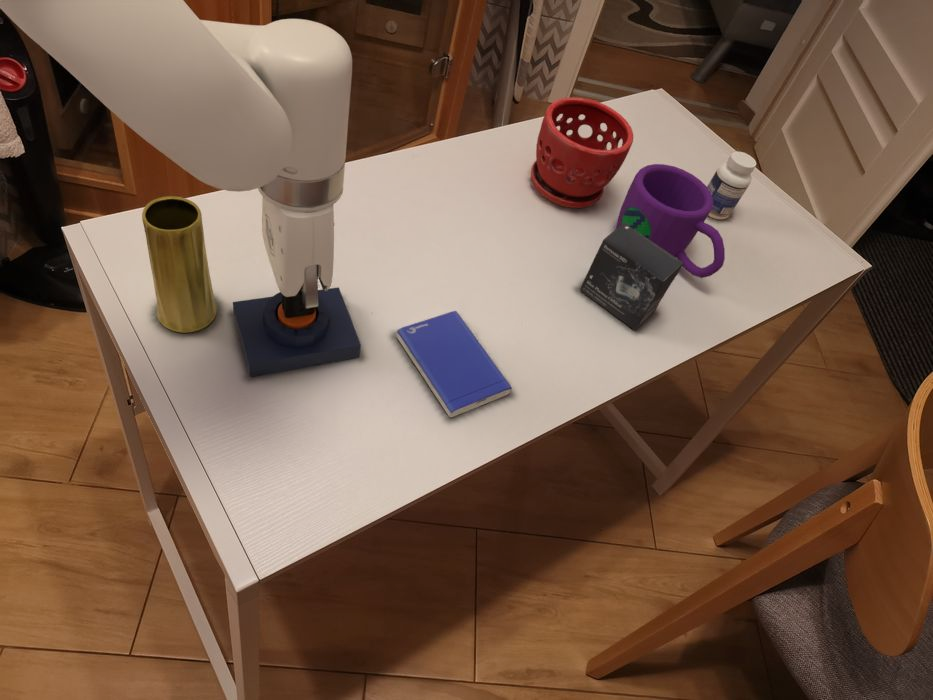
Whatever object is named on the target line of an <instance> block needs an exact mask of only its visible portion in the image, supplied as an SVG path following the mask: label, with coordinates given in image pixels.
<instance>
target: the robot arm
mask: <svg viewBox="0 0 933 700" xmlns="http://www.w3.org/2000/svg"><path fill="white" fill-rule="evenodd" d="M0 10H1V11H2V12H3V13H4V14H5V15H6V16H7V17H8V18H9V19H10V20H11V22H13V23H14V24H15V25H16V26H17V27H18V28H19V29H20V30H21V31H22V32H24V33H25V34H26V35H27V37H29V38H30V39H31V40H32V41H34V43H36V44H37V45H39V46H40V47H41V48H42V50H44V51H45V52H46V53H47V54H49V55H50V56H51V57H52V58H53V59H54V60H55V61H56V62H58V63H59V65H60V66H62V67H63V68H64V69H65V70H66V71H67V72H69V74H70V75H72V76H73V77H74V78H75V79H76V80H77V81H78V82H79V83H80V84H81V85H83V86H84V87H85V88H86V90H88V91H89V92H90V93H91V94H92V95H93V96H94V97H95V98H96V99H97V100H98V101H100V103H102V104H103V105H104V106H105V107H106V108H107V109H108V110H110V112H112V113H113V114H114V115H115V116H116V117H117V118H118V119H119V120H121V121H122V122H123V123H124V124H125V125H126V126H127V127H128V128H130V129H131V130H132V131H133V132H134V133H136V134H137V135H138V136H140V137H141V138H142V139H143V140H144V141H146V142H147V143H148V144H150V145H151V146H152V147H153V148H155V149H156V150H157V151H158V152H160V153H161V154H163V155H164V156H165V157H166V158H168V159H169V160H171V161H172V162H173V163H175V164H176V165H178V166H179V167H180V168H181V169H183V170H184V171H185V172H187V173H188V174H190V175H191V176H192V177H194V178H195V179H197V180H198V181H200V182H201V183H203V184H205V185H208V186H210V187H212V188H215V189H218V190H222V191H226V192H237V193H239V192H248V191H249V192H250V191H253V190H258V192H259V194H260V195H261V196H262V199H261V200H262V202H261V204H262V206H261V208H262V209H261V233H262V240H263V244H264V247H265V251H266V255H267V257H268V261H269V264H270V267H271V270H272V273H273V277H274V278H275V279H274V280H275V283H276V285H277V288H278V290H279V292H281V293H282V308H283V310H284V314H285V317H286V318H292V317H300V316H305V315H312V314H314V313H315V307H318V290H319V284H318V283H320V286H321V290H323V289H324V290H325V291H327V290H328V289H330V288H331V286H332V283H333V274H334V261H335V260H334V258H335V257H334V255H335V212H334V205H335V204H336V203H337V202H338V201H339V200H340V199H341V197H342V195H343V193H344V184H345V171H346V170H345V169H346V157H347V145H348V144H347V143H348V132H349V131H348V130H349V128H348V127H349V117H350V106H351V105H350V104H351V90H352V80H353V79H352V78H353V55H352V52H351V49H350V46H349V44H348V43H347V41H346V39H345V38H344V37H343V36H342V35H341V34H339V33H338V32H337V31H336V30H334V29H333V28H331V27H329V26H328V25H325V24H323V23H321V22H317V21H314V20H309V19H303V18H286V19H285V18H283V19H279V20H274V21H271V22H270V23H267V24H265V25H264V24H263V25H260V24H259V25H258V24H257V25H256V24H245V23H232V22H222V21H216V20H215V21H214V20H208V19H207V20H205V19H200V18H199V17H198V16H197V15H196V14H195V13H194V11H193V9H191V8H190V6H188V4H187V3H186V2H185V0H0ZM318 280H319V281H318Z"/></svg>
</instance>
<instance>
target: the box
mask: <svg viewBox="0 0 933 700" xmlns="http://www.w3.org/2000/svg"><path fill="white" fill-rule="evenodd" d="M683 264H684V263H683V262H682V261H680V260H679V259H677V258H675V257H673V256H672V255H671V254H669V253H668V252H666V251H665V250H663V249H662V248H660V247H659V246H657V245H656V244H655V243H653V242H651V241H650V240H649V239H647V238H646V237H644V236H643V235H641V234H640V233H638V232H637V231H635V230H634V229H632V228H631V227H630V226H629V225H628V224H626V223H623V224H622V225H620V226H619V227H618V228H617V229H616V228H615V229H614V230H613V231H612V232H611V233H609V234H608V235H606V237H605V238H604V239H603V240H602V241H601V244H600V246H599V247H598V250H597V253H595V256H594V258H593V260H592V262H591V265H590V267H589V269H588V271H587V273H586V275H585V277H584V279H583V281H582V284H581V286H580V287H579V291H580V292H582V293H583V294H585V295H586V296H587V297H589V298H590V299H592V300H593V302H596V304H598V305H600V306H601V307H603V308H604V309H605V310H606V311H608V312H609V313H610V314H612V315H613V316H615V317H616V318H618V319H619V320H620V321H621V322H623V323H624V324H625V325H626V326H628V327H630V328H631V329H632V330H634V331H636V330H637V329H638V328H639V327H640V326H641V325H642V324H643V323H644V322H645V321H646V320H647V319H648V318H649V317H650V316H652V315H653V314H654V312H655V311H656V310H657V308H658V306H659V304H660V303H661V301H662V299H663V298H664V296H665V294H666V293H667V291H668V290H669V288H670V286H671V285H672V283H673V282H674V280H675V279H676V277H677V276H678V273H680V271H681V269H682V268H683Z"/></svg>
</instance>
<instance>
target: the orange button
mask: <svg viewBox="0 0 933 700" xmlns="http://www.w3.org/2000/svg"><path fill="white" fill-rule="evenodd" d="M315 319H316V310H315V313H314V314H312V315H305V316H300V317H292V318H286V317H285V314H284V310H283V308H282V304H281V305H280V306H279V308H278V321H279V322H280V323H281V324H282V325H284V326H285V327H289V328H293V329H300V328H307V327H309V326H310V325H312V324H313V323H315Z"/></svg>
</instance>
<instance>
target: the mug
mask: <svg viewBox="0 0 933 700" xmlns="http://www.w3.org/2000/svg"><path fill="white" fill-rule="evenodd" d="M707 186H708V185H706V184H705V183H704V182H703V181H702V180H701V179H700V178H698V177H696V176H695V175H694V174H692V173H691V172H688V171H687V170H685V169H682V168H680V167H677V166H673V165H669V164H663V163H653V164H648V165H646V166H643V167H642V168H640V169H639V170H638V171H637V172H636V174H635V176H634V177H633V180H632V182H631V184H630V186H629V188H628V189H627V193H626V195H625V197H624V199H623V202H622V204H621V207H620V210H619V213H618V217H617V221H616V224H615V230H616V229H617V228H618V227H619V226H620V225H622V224H623V223H626V224H628V225H629V226H630V227H631V228H632V229H634V230H635V231H637V232H638V233H640V234H641V235H643V236H644V237H646V238H647V239H649V240H650V241H651V242H653V243H655V244H656V245H657V246H659V247H660V248H662V249H663V250H665V251H666V252H668V253H669V254H671V255H672V256H673V257H675V258H676V259H679V260H680V261H682V262H683V263H684V264H683V266H682V268H683V269H684V270H685V271H686V272H688V273H689V274H690V275H692V276H694V277H697V278H700V279H702V278H707V277H711V276H713V275H714V274H717V272H719V271H720V270H721V268H722V267H724V263H725V259H726V256H725V255H726V254H725V253H726V250H725V249H726V248H725V243H724V238H723V237H722V235H721V233H720V232H719V230H718V229H716V228H715V227H714V226H712V225H711V224H708V223H706V220H707V218H708V217H709V216H708V215H709V213H710V211H711V210H712V208H713V197H712V194H711V192H710V191H709V189H708V188H707ZM698 232H699V233H700V234H703V235H705V236H707V237H708V238H709V239H710V241H711V243H712V247H713V261H712V262H711V263H709V264H708V265H707V266H705V267H700V266H698V265H697V264H695V263H694V262H693V261H692V260H691V259H690V258H689V257H688V255H687V253H686V251H685V250H686V249H687V248H688V247H689V246H690V244H691V242H692V241H693V239H694V238H695V237H696V236H697V233H698Z"/></svg>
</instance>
